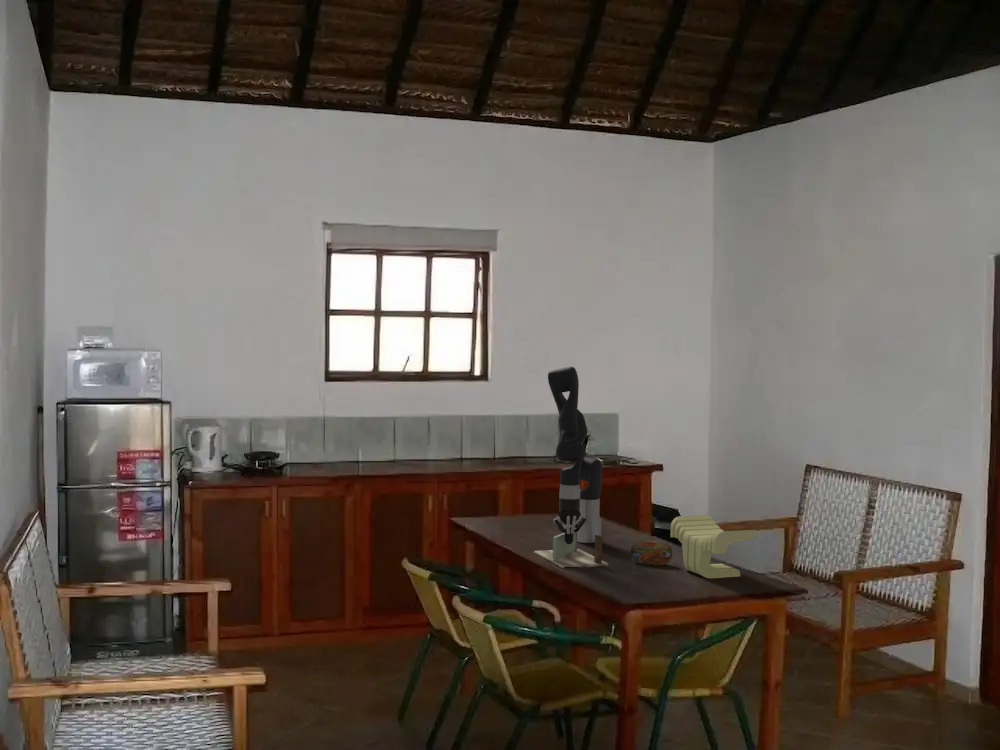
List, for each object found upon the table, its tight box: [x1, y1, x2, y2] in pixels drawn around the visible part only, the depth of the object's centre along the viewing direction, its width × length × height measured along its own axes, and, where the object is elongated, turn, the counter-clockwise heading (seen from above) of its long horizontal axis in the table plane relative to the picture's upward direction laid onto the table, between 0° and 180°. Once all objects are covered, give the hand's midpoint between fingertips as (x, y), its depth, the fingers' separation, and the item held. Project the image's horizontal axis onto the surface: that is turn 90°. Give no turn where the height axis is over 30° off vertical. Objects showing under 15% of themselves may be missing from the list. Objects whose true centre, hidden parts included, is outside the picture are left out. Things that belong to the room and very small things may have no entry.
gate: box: [552, 532, 578, 560], centre depth 404 cm, size 2×21×8 cm, turn 154°
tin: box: [630, 540, 673, 566], centre depth 397 cm, size 15×3×8 cm, turn 70°
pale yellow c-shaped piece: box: [669, 514, 757, 579], centre depth 383 cm, size 30×16×18 cm, turn 20°
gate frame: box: [533, 523, 609, 569], centre depth 401 cm, size 18×27×11 cm, turn 19°
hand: (568, 543), depth 400 cm, fingers closed
